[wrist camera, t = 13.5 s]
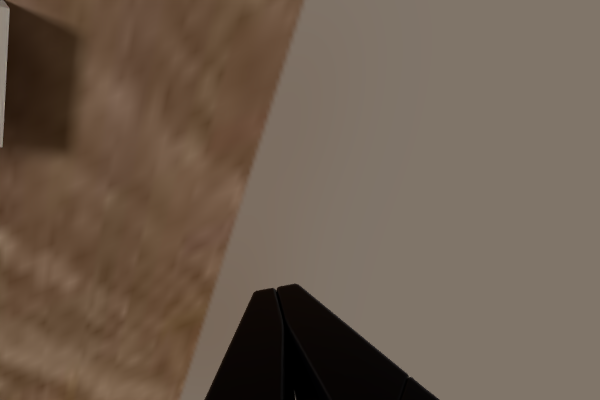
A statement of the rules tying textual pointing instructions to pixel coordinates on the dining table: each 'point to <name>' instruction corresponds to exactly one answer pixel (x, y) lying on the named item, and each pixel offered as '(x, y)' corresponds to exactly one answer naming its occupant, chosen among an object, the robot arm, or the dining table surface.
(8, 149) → the dining table surface
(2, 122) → the domino
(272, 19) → the dining table surface
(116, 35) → the dining table surface
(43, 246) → the dining table surface
